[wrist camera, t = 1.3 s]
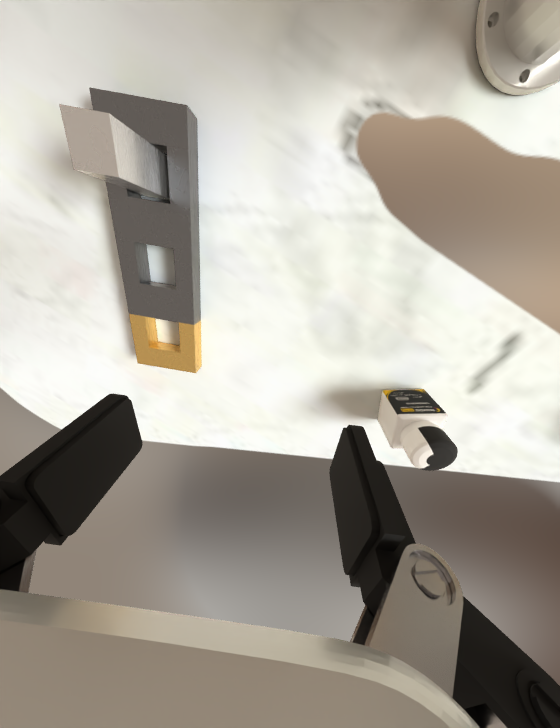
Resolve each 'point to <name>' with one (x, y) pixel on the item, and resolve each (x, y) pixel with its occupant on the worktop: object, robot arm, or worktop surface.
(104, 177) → the steel peg
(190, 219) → the rail
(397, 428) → the medicine bottle
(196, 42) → the worktop surface
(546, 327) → the worktop surface
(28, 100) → the worktop surface
